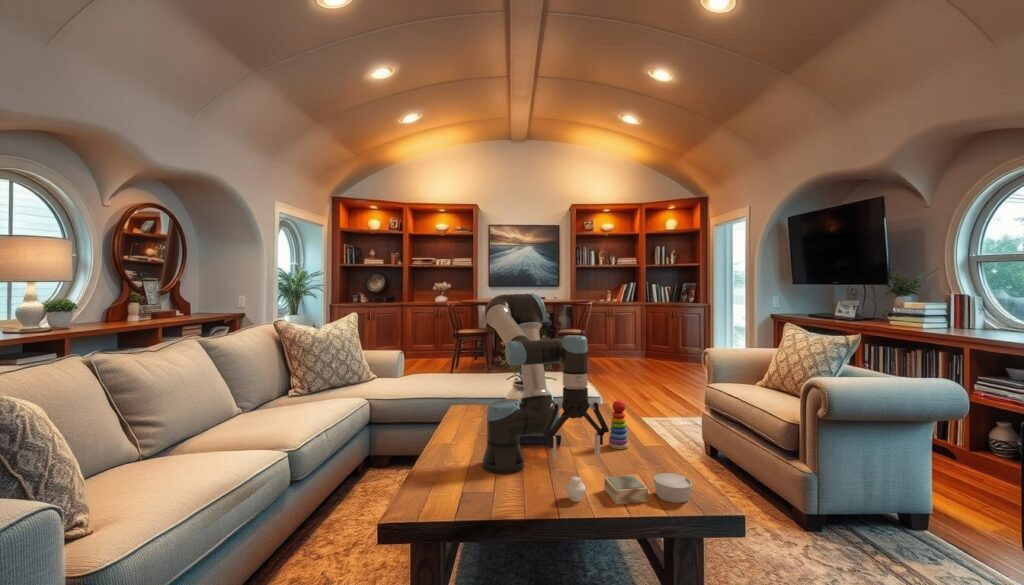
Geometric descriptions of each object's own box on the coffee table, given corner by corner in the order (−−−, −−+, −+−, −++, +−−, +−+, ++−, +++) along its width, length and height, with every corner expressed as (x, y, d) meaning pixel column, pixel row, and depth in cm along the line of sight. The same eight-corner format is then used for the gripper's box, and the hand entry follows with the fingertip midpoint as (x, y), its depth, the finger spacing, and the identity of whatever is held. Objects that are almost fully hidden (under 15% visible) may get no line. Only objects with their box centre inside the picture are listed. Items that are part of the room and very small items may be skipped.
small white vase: (573, 493, 145) (573, 471, 145) (589, 499, 141) (589, 476, 141) (561, 499, 141) (561, 476, 141) (577, 506, 137) (577, 482, 136)
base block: (616, 504, 138) (616, 490, 138) (604, 489, 148) (604, 476, 148) (648, 501, 139) (647, 487, 139) (634, 487, 149) (634, 474, 149)
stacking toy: (630, 450, 184) (630, 403, 184) (610, 450, 184) (610, 403, 184) (626, 443, 192) (626, 398, 192) (606, 443, 192) (606, 398, 192)
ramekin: (695, 506, 136) (695, 488, 136) (656, 504, 138) (656, 486, 138) (687, 490, 147) (687, 473, 147) (651, 488, 149) (651, 471, 149)
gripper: (537, 390, 135) (538, 463, 135) (619, 387, 139) (619, 458, 139) (532, 385, 142) (533, 455, 142) (610, 382, 146) (610, 450, 146)
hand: (575, 457), depth 141 cm, fingers open, 13 cm apart
